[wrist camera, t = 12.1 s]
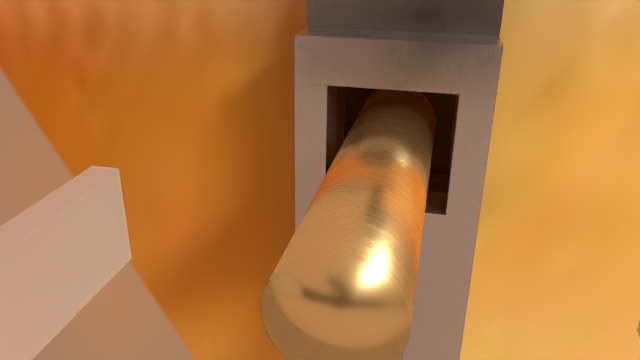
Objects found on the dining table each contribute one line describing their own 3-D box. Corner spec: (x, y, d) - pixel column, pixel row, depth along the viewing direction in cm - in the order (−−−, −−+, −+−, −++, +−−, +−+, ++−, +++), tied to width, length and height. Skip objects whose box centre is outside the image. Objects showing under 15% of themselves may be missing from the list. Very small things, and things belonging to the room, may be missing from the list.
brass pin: (361, 82, 24) (257, 244, 12) (438, 86, 24) (416, 263, 11) (359, 153, 26) (263, 368, 13) (432, 159, 25) (405, 390, 12)
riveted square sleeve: (322, -214, 20) (287, -249, 16) (528, -220, 19) (548, -261, 15) (315, 335, 30) (292, 399, 26) (452, 356, 29) (451, 427, 25)
